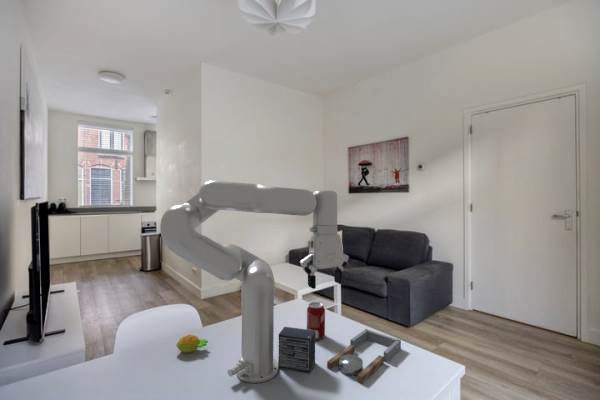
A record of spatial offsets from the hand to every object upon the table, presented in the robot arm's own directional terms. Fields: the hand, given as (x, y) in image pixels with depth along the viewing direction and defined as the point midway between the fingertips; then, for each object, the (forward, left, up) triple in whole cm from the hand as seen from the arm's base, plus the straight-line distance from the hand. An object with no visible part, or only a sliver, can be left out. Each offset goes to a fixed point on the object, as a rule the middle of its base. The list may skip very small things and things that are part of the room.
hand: (325, 285), depth 93 cm
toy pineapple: (-23, +39, -25) cm, 51 cm away
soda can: (+13, +14, -25) cm, 32 cm away
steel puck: (+3, -7, -25) cm, 27 cm away
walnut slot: (+6, -7, -25) cm, 27 cm away
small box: (-6, +7, -25) cm, 27 cm away
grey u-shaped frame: (+19, -7, -25) cm, 33 cm away
